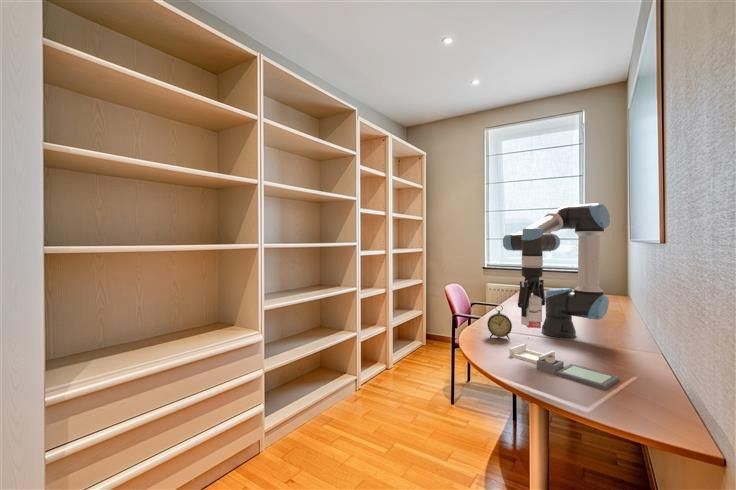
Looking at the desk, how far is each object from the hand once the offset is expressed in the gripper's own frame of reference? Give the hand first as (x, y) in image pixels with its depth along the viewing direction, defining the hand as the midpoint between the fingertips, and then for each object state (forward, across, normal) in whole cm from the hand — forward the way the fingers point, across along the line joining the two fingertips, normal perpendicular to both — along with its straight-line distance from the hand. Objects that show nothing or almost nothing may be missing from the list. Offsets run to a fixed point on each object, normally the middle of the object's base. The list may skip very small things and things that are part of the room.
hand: (531, 322), depth 136 cm
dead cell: (+14, +7, +10) cm, 19 cm away
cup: (+15, +7, +10) cm, 19 cm away
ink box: (+1, 0, 0) cm, 1 cm away
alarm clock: (+15, -17, -26) cm, 34 cm away
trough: (+15, 0, 0) cm, 15 cm away
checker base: (+15, +4, +22) cm, 26 cm away
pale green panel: (+14, +4, +21) cm, 26 cm away
